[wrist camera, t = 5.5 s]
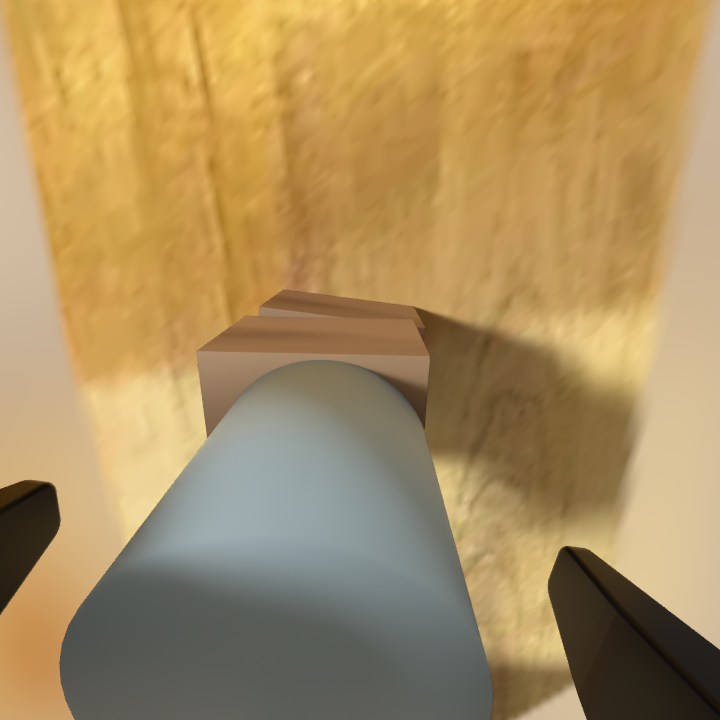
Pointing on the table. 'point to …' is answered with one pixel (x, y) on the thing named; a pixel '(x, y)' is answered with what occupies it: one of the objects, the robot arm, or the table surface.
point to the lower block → (335, 308)
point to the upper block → (310, 355)
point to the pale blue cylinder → (289, 573)
